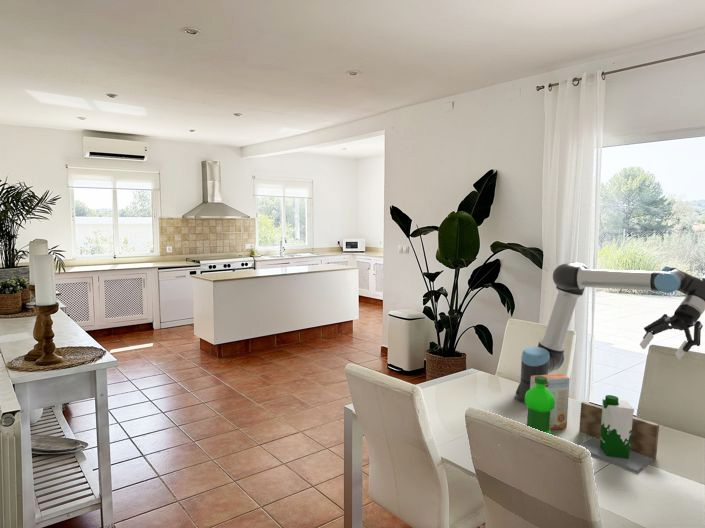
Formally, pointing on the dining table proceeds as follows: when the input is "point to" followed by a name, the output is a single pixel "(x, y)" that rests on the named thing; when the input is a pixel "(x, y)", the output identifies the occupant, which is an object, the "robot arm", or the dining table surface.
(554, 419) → the cracker box
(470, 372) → the dining table surface
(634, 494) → the dining table surface
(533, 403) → the plastic bottle
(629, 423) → the soya milk
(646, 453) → the walnut screen
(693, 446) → the dining table surface
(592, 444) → the slate mat
